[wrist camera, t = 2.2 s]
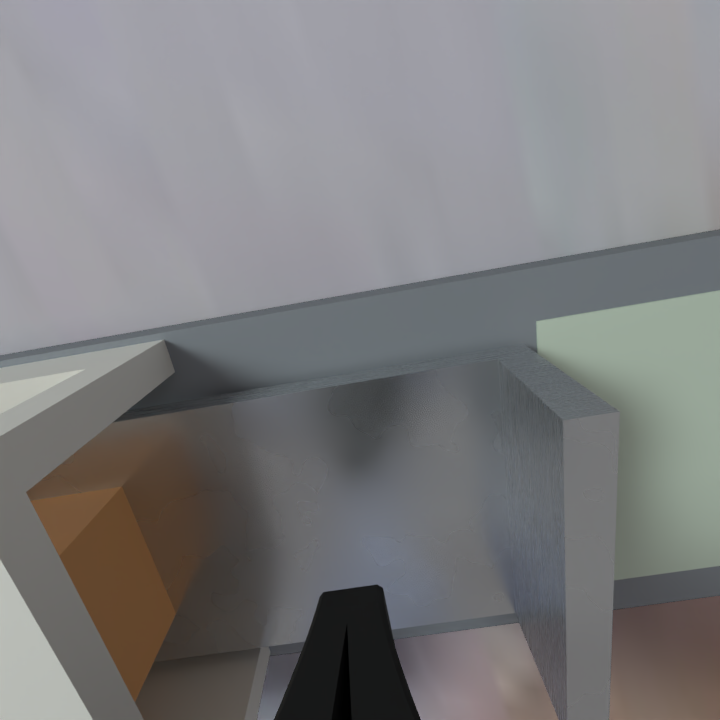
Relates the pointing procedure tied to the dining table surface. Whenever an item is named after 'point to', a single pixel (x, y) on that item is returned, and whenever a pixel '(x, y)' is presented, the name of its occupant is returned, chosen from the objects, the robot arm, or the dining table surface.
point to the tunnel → (51, 580)
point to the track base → (548, 339)
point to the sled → (380, 507)
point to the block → (112, 575)
